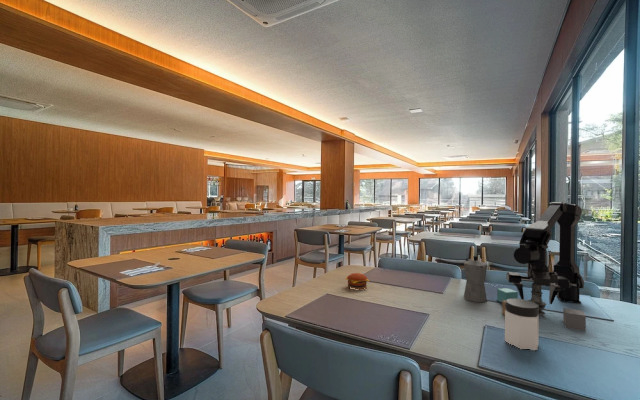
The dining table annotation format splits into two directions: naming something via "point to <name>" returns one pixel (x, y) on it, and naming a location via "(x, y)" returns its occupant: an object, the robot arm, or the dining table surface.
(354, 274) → the hamburger
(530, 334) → the jar
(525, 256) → the robot arm
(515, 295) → the teal block
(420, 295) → the dining table surface
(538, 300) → the salt shaker
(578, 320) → the grey cube
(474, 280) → the coffeepot
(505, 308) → the walnut block
